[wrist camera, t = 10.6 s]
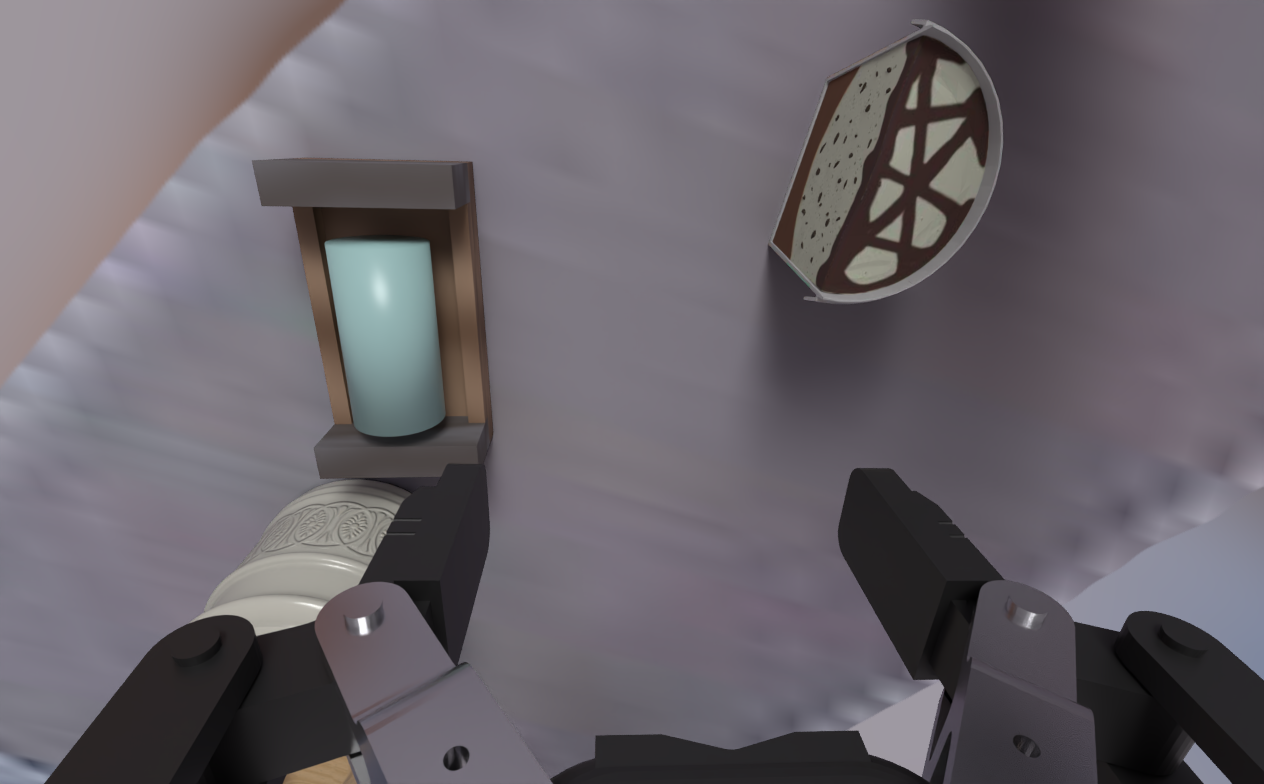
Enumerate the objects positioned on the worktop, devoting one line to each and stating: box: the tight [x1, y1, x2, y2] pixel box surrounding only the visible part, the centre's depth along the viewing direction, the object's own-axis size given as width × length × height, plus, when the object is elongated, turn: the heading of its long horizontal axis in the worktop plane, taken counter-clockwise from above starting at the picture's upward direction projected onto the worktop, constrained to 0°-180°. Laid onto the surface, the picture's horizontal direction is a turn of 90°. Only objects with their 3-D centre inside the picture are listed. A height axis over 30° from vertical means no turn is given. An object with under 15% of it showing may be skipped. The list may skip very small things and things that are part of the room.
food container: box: [768, 19, 1003, 304], centre depth 30 cm, size 12×6×10 cm, turn 165°
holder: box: [252, 158, 493, 479], centre depth 33 cm, size 17×9×6 cm, turn 179°
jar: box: [188, 479, 412, 784], centre depth 34 cm, size 13×13×18 cm
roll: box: [325, 235, 446, 437], centre depth 32 cm, size 10×5×5 cm
